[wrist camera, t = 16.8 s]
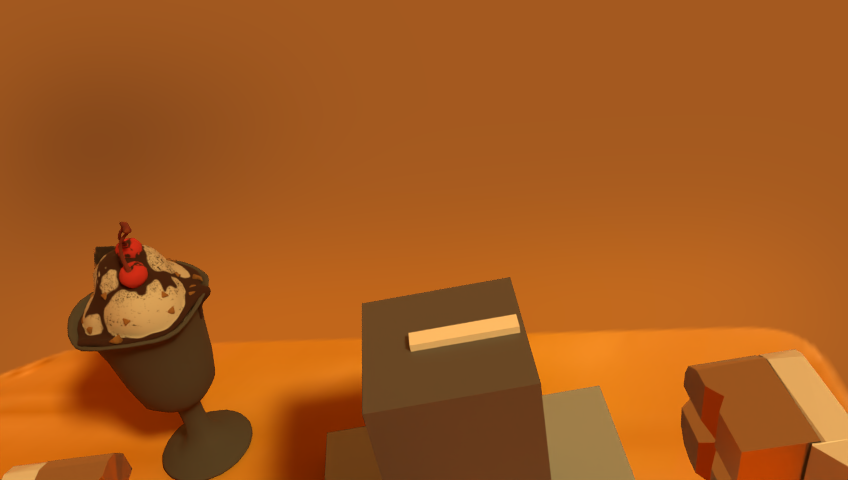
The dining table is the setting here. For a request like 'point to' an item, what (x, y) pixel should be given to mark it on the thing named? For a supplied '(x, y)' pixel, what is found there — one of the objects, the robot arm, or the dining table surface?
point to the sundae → (160, 350)
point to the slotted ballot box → (452, 386)
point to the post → (565, 429)
